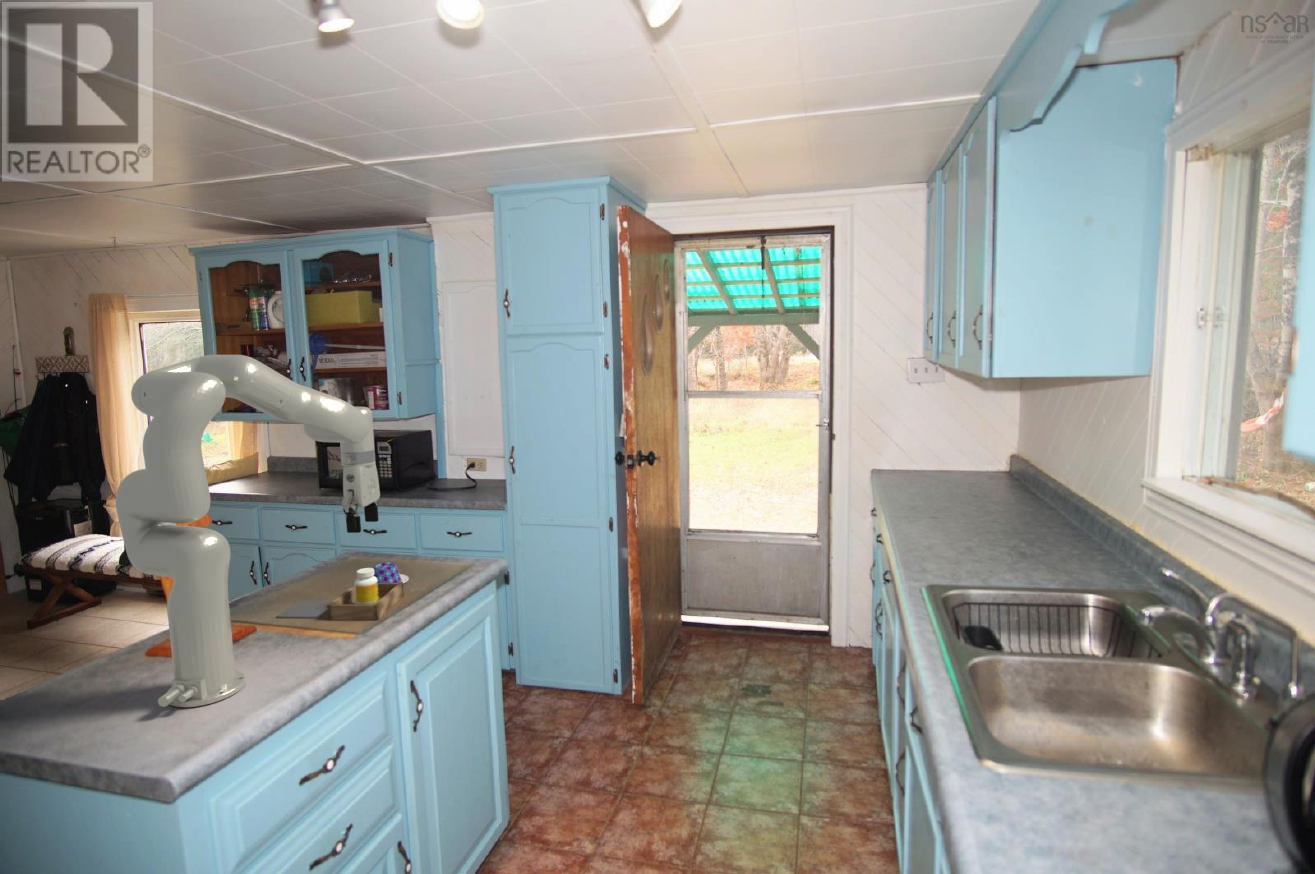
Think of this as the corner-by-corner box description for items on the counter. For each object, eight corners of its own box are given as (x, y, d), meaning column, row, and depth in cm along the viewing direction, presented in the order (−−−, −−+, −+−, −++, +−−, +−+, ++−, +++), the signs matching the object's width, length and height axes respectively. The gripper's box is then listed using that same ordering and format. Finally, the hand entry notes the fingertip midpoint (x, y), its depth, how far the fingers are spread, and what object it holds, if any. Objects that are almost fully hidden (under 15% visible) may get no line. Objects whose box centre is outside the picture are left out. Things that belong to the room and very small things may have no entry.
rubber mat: (317, 618, 165) (317, 616, 165) (276, 617, 165) (276, 616, 165) (337, 602, 175) (337, 601, 175) (298, 602, 175) (298, 600, 175)
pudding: (371, 576, 195) (369, 558, 195) (414, 575, 196) (413, 557, 195) (355, 591, 183) (354, 572, 183) (401, 590, 184) (400, 571, 184)
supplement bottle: (353, 606, 172) (350, 569, 171) (375, 601, 176) (373, 565, 174) (359, 613, 168) (357, 575, 167) (382, 607, 171) (379, 570, 170)
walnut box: (377, 620, 164) (376, 606, 163) (327, 619, 164) (326, 605, 164) (403, 595, 180) (403, 582, 179) (358, 595, 180) (357, 582, 179)
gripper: (357, 464, 158) (362, 537, 161) (388, 452, 175) (392, 517, 178) (325, 464, 158) (330, 537, 161) (359, 452, 175) (363, 517, 178)
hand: (363, 526), depth 169 cm, fingers open, 9 cm apart
